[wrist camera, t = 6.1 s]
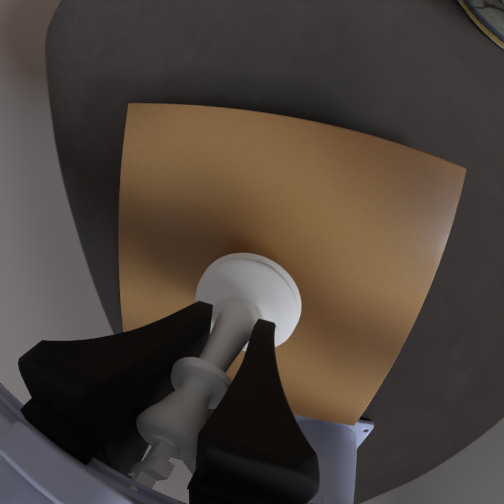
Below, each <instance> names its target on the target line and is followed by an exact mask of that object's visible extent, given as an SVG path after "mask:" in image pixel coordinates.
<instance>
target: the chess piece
mask: <svg viewBox="0 0 504 504" xmlns="http://www.w3.org/2000/svg"><path fill="white" fill-rule="evenodd" d="M197 301H202V302H205V303H209V304H212V305H213V312H212V321H211V330H210V336H209V338H208V340H207V342H206V345H205V347H204V349H203V351H202V353H201V355H200V357H199V358H196V357H185V358H181V359H179V360H178V361H176V362H175V363H174V365H173V367H172V371H171V375H170V378H171V382H172V385H173V387H174V388H175V390H176V391H174V392H172V393H170V394H169V395H168V396H166V397H165V398H164V399H163V400H161V401H160V402H158V403H156V404H154V405H152V406H150V407H149V408H147V409H146V410H144V411H143V412H142V413H140V414H139V416H138V417H137V420H136V424H137V428H138V431H139V433H140V434H141V436H142V437H143V438H144V440H145V441H146V442H147V443H148V444H150V445H151V446H152V448H151V449H150V451H149V452H148V454H147V455H146V457H145V458H144V460H143V461H140V462H137V463H135V464H134V465H133V467H132V468H131V470H130V471H129V473H128V475H130V476H131V477H132V478H131V479H132V480H134V481H136V482H138V483H140V484H142V485H144V486H146V487H148V488H151V489H152V487H153V486H154V484H155V482H156V481H159V480H164V479H168V477H169V475H170V473H171V472H172V470H173V468H174V466H175V465H173V464H172V463H170V462H169V461H168V460H169V458H170V457H172V458H175V459H179V460H195V459H196V456H197V440H198V433H199V431H200V430H201V429H202V428H203V426H204V425H205V423H206V422H207V420H208V409H216V408H217V406H218V404H219V403H220V401H221V400H222V398H223V396H224V395H225V393H226V391H227V390H228V388H229V386H230V384H231V383H232V381H231V380H230V378H229V377H228V375H227V374H226V372H227V370H228V369H229V367H230V366H231V364H232V363H233V362H234V360H235V359H236V357H237V356H238V355H239V353H240V352H241V351H246V349H247V346H248V343H249V339H250V336H251V333H252V330H253V327H254V325H255V323H256V322H257V320H258V319H259V318H260V319H263V320H267V321H271V322H274V323H275V325H276V328H275V347H277V346H279V345H280V344H282V343H283V342H285V341H286V340H287V339H288V338H289V337H290V335H291V334H292V332H293V331H294V329H295V327H296V325H297V323H298V321H299V318H300V315H301V297H300V293H299V290H298V288H297V286H296V284H295V282H294V280H293V279H292V277H291V276H290V275H289V274H288V273H287V272H286V271H285V270H284V269H283V268H282V267H281V266H280V265H278V264H277V263H275V262H274V261H272V260H270V259H268V258H266V257H263V256H260V255H257V254H252V253H234V254H229V255H226V256H223V257H221V258H219V259H218V260H216V261H215V262H213V263H212V264H211V265H210V266H209V267H208V268H207V269H206V271H205V272H204V274H203V276H202V278H201V279H200V281H199V283H198V286H197V290H196V302H197ZM130 489H132V490H135V491H138V489H137V488H136V487H135V486H134V485H131V486H130Z"/></svg>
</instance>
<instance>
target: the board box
mask: <svg viewBox="0 0 504 504" xmlns="http://www.w3.org/2000/svg"><path fill="white" fill-rule="evenodd" d="M465 174H466V168H465V167H463V166H460V165H458V164H455V163H453V162H450V161H448V160H445V159H443V158H440V157H437V156H435V155H432V154H429V153H426V152H424V151H421V150H418V149H415V148H412V147H409V146H406V145H403V144H400V143H396V142H393V141H390V140H387V139H383V138H380V137H376V136H373V135H369V134H366V133H362V132H358V131H354V130H350V129H346V128H342V127H338V126H334V125H329V124H325V123H320V122H315V121H310V120H305V119H300V118H295V117H289V116H284V115H278V114H271V113H265V112H258V111H250V110H242V109H234V108H225V107H214V106H202V105H187V104H165V103H129V104H128V109H127V116H126V124H125V132H124V141H123V151H122V162H121V175H120V193H119V226H118V248H119V282H120V299H121V313H122V324H123V332H127V331H130V330H134V329H137V328H140V327H142V326H145V325H147V324H150V323H152V322H155V321H157V320H160V319H162V318H164V317H167V316H169V315H171V314H173V313H175V312H177V311H179V310H181V309H183V308H185V307H187V306H189V305H191V304H193V303H195V302H196V290H197V286H198V283H199V281H200V279H201V278H202V276H203V274H204V272H205V271H206V269H207V268H208V267H209V266H210V265H211V264H212V263H213V262H215V261H216V260H218V259H219V258H221V257H223V256H226V255H229V254H234V253H252V254H257V255H260V256H263V257H266V258H268V259H270V260H272V261H274V262H275V263H277V264H278V265H280V266H281V267H282V268H283V269H284V270H285V271H286V272H287V273H288V274H289V275H290V276H291V277H292V279H293V280H294V282H295V284H296V286H297V288H298V290H299V293H300V297H301V315H300V318H299V321H298V323H297V325H296V327H295V329H294V331H293V332H292V334H291V335H290V337H289V338H288V339H287V340H286V341H285V342H283V343H282V344H280V345H279V346H277V347H275V353H276V361H277V366H278V371H279V376H280V379H281V383H282V387H283V390H284V393H285V396H286V398H287V401H288V404H289V406H290V408H291V410H292V413H293V414H295V415H300V416H304V417H309V418H313V419H318V420H323V421H328V422H334V423H339V424H345V425H351V426H354V425H355V424H356V423H357V421H358V420H359V418H360V417H361V415H362V414H363V412H364V411H365V409H366V408H367V406H368V405H369V403H370V402H371V400H372V398H373V397H374V395H375V394H376V392H377V390H378V389H379V387H380V385H381V384H382V382H383V380H384V379H385V377H386V375H387V374H388V372H389V370H390V368H391V367H392V365H393V363H394V361H395V359H396V358H397V356H398V354H399V352H400V350H401V348H402V346H403V344H404V342H405V341H406V339H407V337H408V335H409V333H410V331H411V328H412V326H413V324H414V322H415V320H416V318H417V316H418V314H419V311H420V309H421V307H422V305H423V303H424V300H425V298H426V296H427V293H428V291H429V288H430V286H431V284H432V281H433V279H434V276H435V273H436V271H437V268H438V266H439V263H440V260H441V257H442V255H443V252H444V249H445V246H446V243H447V240H448V237H449V234H450V231H451V227H452V224H453V221H454V217H455V214H456V210H457V207H458V203H459V199H460V195H461V191H462V187H463V183H464V179H465ZM245 352H246V351H241V352H240V353H239V355H238V356H237V357H236V359H235V360H234V362H233V363H232V364H231V366H230V367H229V369H228V370H227V372H226V374H227V375H228V377H229V378H230V380H231V381H233V379H234V377H235V375H236V374H237V372H238V370H239V368H240V366H241V364H242V361H243V359H244V355H245Z"/></svg>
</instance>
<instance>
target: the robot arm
mask: <svg viewBox="0 0 504 504" xmlns="http://www.w3.org/2000/svg"><path fill="white" fill-rule="evenodd" d="M212 312H213V305H212V304H209V303H205V302H202V301H197V302H195V303H193V304H191V305H189V306H187V307H185V308H183V309H181V310H179V311H177V312H175V313H173V314H171V315H169V316H167V317H164V318H162V319H160V320H157V321H155V322H152V323H150V324H147V325H145V326H142V327H140V328H137V329H134V330H130V331H127V332H123V333H120V334H115V335H110V336H105V337H100V338H94V339H86V340H74V341H46V340H42V341H41V342H39V343H38V344H37V345H35V347H33V348H32V349H30V350H29V351H28V352H27V353H25V354H24V355H23V356H22V357H21V358H19V361H18V365H19V370H20V373H21V376H22V378H23V380H24V382H25V384H26V387H27V388H28V391H29V393H30V395H31V397H32V398H31V399H30V400H29V401H28V402H27V403H26V404H25V405H23V404H22V403H21V402H20V401H19V400H18V399H16V398H15V397H14V396H13V395H12V394H11V393H10V392H9V391H8V390H7V389H6V388H5V387H4V386H3V385H2V384H1V383H0V458H1V460H0V504H186V503H183V502H181V501H178V500H176V499H173V498H171V497H168V496H166V495H164V494H162V493H159V492H157V491H155V490H153V489H151V488H148V487H146V486H144V485H142V484H140V483H138V482H136V481H134V480H132V479H131V478H132V477H131V476H130V475H128V473H129V471H130V470H131V468H132V467H133V465H134V464H135V463H137V462H140V461H141V460H142V458H143V456H144V454H145V451H146V450H147V448H148V446H149V444H148V443H147V442H146V441H145V440H144V438H143V437H142V436H141V434H140V433H139V431H138V428H137V424H136V420H137V417H138V416H139V414H140V413H142V412H143V411H144V410H146V409H147V408H149V407H150V406H152V405H154V404H156V403H158V402H160V401H161V400H163V399H164V398H165V397H166V396H168V395H169V394H170V393H172V392H174V391H176V390H175V388H174V387H173V385H172V382H171V378H170V375H171V371H172V367H173V365H174V363H175V362H176V361H178V360H179V359H181V358H185V357H196V358H199V357H200V355H201V353H202V351H203V349H204V347H205V345H206V342H207V340H208V338H209V336H210V330H211V321H212ZM275 328H276V325H275V323H274V322H271V321H267V320H263V319H260V318H259V319H258V320H257V322H256V323H255V325H254V327H253V330H252V333H251V336H250V339H249V343H248V346H247V349H246V352H245V355H244V359H243V361H242V364H241V366H240V368H239V370H238V372H237V374H236V375H235V377H234V379H233V381H232V383H231V384H230V386H229V388H228V390H227V391H226V393H225V395H224V396H223V398H222V400H221V401H220V403H219V404H218V406H217V408H216V409H215V411H214V412H213V414H212V415H211V416H210V418H209V419H208V421H207V422H206V423H205V425H204V426H203V428H202V429H201V430H200V431H199V433H198V440H197V456H196V470H195V472H194V474H193V476H192V479H191V481H190V482H189V484H188V487H187V489H189V504H353V499H354V487H355V472H356V453H357V448H358V447H359V445H360V444H361V443H362V442H363V440H364V439H365V438H366V437H367V435H368V434H369V433H370V432H371V430H372V429H373V428H374V423H373V422H371V421H365V420H358V421H357V423H356V424H355V425H354V426H351V425H345V424H339V423H334V422H328V421H323V420H318V419H313V418H309V417H304V416H300V415H295V414H293V413H292V410H291V408H290V406H289V404H288V401H287V398H286V396H285V393H284V390H283V387H282V383H281V379H280V376H279V371H278V366H277V361H276V353H275ZM131 485H134V486H135V487H136V488H137V489H138V491H135V490H132V489H130V486H131Z"/></svg>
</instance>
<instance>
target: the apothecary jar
mask: <svg viewBox="0 0 504 504" xmlns="http://www.w3.org/2000/svg"><path fill="white" fill-rule="evenodd" d="M458 2H459V3H460V5H461V6H462V8H463V9H464V10H465V12H466V13H467V15H468V16H469V17H470V18H471V19H472V20H473V22H474V23H475V24H476V25H477V26H478V27H479V28H480V29H481V30H482V31H483V32H484V33H485V34H486V35H487V36H488V37H489V38H490V39H491V40H492V41H494V42H495V43H496V44H497V45H498V46H500V47H501V48H502V49H504V0H458Z"/></svg>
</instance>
